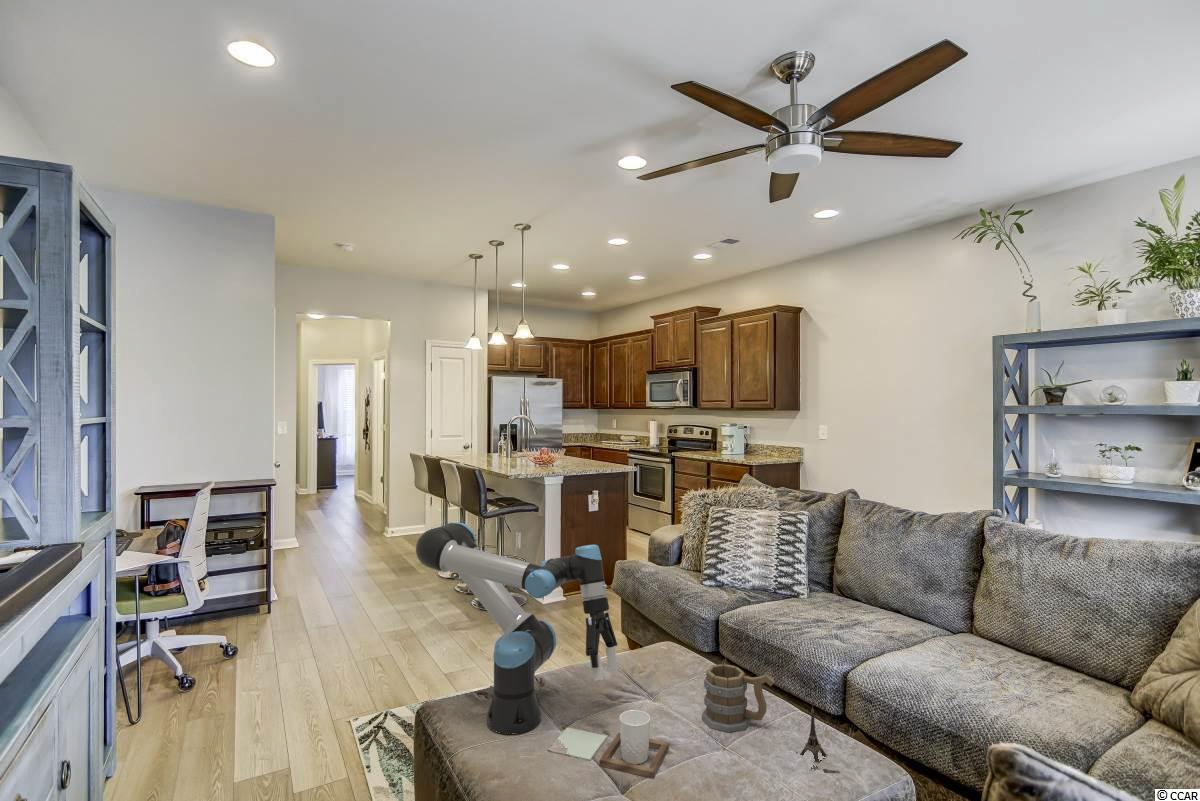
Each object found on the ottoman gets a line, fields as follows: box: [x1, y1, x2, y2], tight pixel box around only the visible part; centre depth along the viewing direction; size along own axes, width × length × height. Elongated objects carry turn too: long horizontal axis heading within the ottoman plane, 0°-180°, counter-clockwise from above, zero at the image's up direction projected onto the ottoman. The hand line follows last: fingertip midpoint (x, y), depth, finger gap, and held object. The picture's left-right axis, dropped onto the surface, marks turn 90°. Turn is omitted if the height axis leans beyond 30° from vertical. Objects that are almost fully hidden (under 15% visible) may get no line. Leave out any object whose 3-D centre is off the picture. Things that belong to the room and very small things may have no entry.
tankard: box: [701, 663, 775, 733], centre depth 166 cm, size 20×13×15 cm, turn 62°
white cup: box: [619, 709, 651, 765], centre depth 149 cm, size 8×8×10 cm
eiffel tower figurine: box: [799, 704, 840, 774], centre depth 150 cm, size 15×10×13 cm
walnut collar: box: [598, 731, 670, 779], centre depth 149 cm, size 14×14×2 cm
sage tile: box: [556, 727, 608, 762], centre depth 155 cm, size 12×12×1 cm
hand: (606, 675), depth 167 cm, fingers open, 13 cm apart
